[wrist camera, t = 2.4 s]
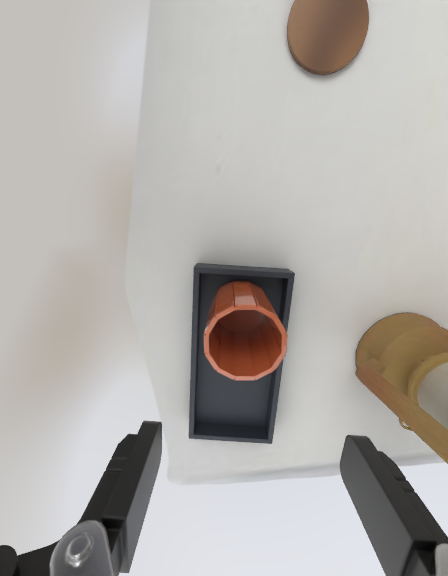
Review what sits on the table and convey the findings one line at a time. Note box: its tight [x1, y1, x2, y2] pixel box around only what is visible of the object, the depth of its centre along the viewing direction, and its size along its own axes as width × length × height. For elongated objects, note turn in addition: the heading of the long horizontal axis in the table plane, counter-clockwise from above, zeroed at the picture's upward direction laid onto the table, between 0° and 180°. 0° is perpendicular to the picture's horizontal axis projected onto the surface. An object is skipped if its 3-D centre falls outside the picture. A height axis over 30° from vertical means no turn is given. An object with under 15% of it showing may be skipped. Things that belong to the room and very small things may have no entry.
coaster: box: [287, 0, 369, 74], centre depth 21 cm, size 7×7×1 cm
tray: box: [189, 263, 295, 444], centre depth 28 cm, size 21×10×3 cm, turn 177°
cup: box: [204, 279, 287, 380], centre depth 23 cm, size 6×6×9 cm
